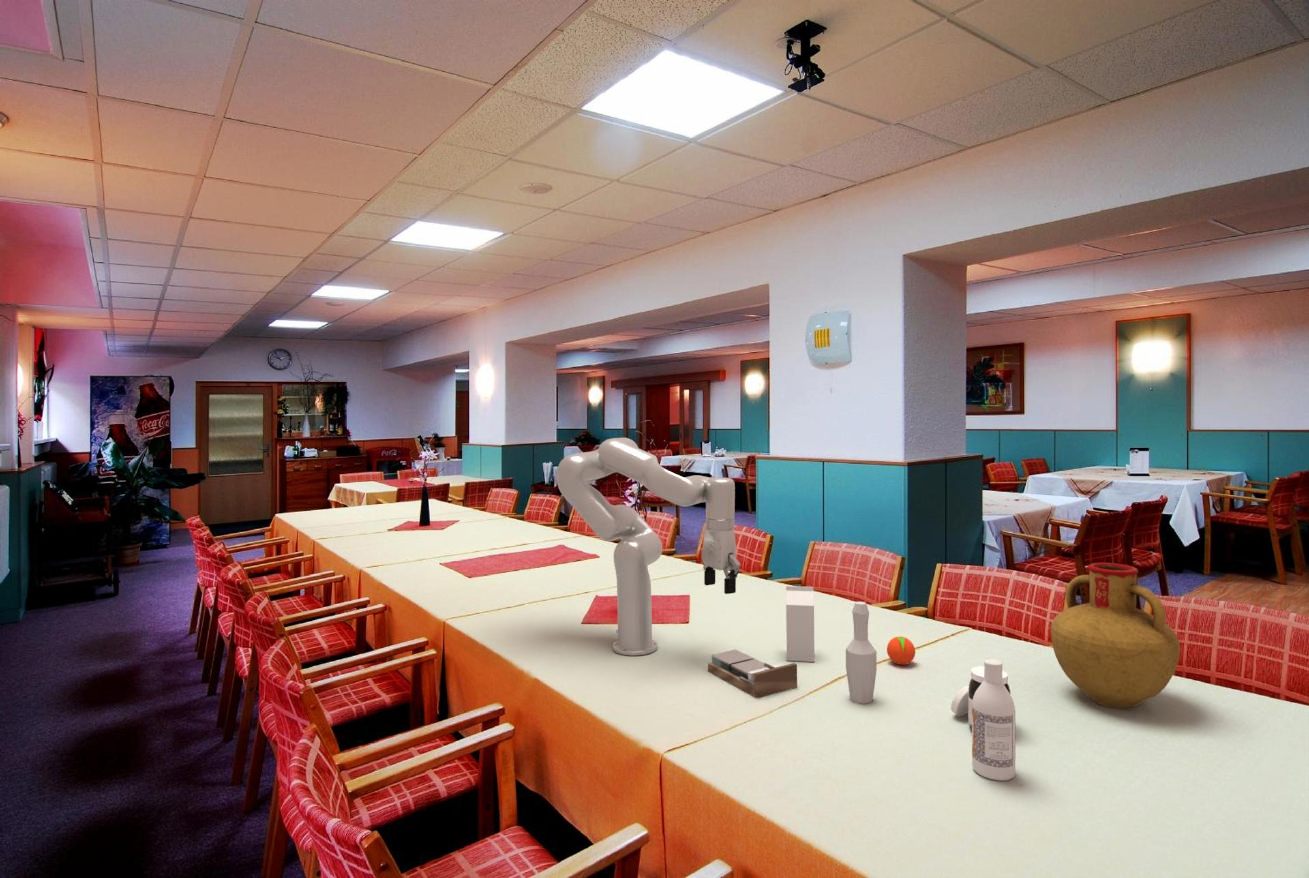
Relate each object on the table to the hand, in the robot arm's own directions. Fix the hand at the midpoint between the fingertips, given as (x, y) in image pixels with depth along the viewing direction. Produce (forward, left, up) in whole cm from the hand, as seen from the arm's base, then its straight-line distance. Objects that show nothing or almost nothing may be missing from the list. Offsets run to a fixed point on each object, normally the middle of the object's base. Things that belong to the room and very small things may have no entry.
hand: (719, 588), depth 181 cm
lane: (+14, -1, -19) cm, 24 cm away
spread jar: (+60, +23, -19) cm, 67 cm away
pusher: (+20, -1, -19) cm, 28 cm away
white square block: (+15, -1, -19) cm, 25 cm away
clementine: (+28, +37, -19) cm, 50 cm away
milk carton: (+10, +19, -19) cm, 29 cm away
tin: (+7, -1, -19) cm, 21 cm away
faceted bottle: (+38, +12, -19) cm, 44 cm away
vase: (+68, +58, -19) cm, 91 cm away
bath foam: (+73, +8, -19) cm, 76 cm away
